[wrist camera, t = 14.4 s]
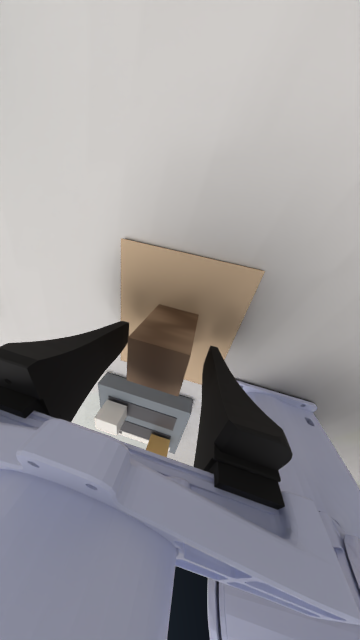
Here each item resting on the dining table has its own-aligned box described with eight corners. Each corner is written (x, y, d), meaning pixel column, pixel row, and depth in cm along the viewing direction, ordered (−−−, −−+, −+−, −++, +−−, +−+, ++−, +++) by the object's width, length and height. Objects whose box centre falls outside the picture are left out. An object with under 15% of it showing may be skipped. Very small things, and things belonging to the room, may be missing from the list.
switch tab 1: (127, 406, 20) (116, 425, 18) (126, 416, 21) (116, 436, 19) (106, 399, 20) (94, 417, 18) (107, 410, 21) (95, 428, 19)
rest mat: (262, 270, 12) (264, 271, 11) (211, 383, 18) (211, 387, 18) (124, 238, 13) (121, 238, 12) (123, 357, 19) (120, 360, 19)
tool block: (198, 314, 14) (190, 355, 9) (189, 346, 16) (178, 396, 11) (159, 304, 14) (128, 337, 9) (154, 337, 16) (126, 380, 11)
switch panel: (192, 399, 20) (190, 414, 18) (177, 439, 26) (174, 455, 24) (107, 372, 21) (97, 384, 20) (110, 417, 27) (102, 429, 25)
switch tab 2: (170, 440, 22) (165, 461, 20) (167, 448, 23) (162, 469, 21) (151, 433, 22) (144, 454, 20) (149, 441, 23) (143, 462, 21)
